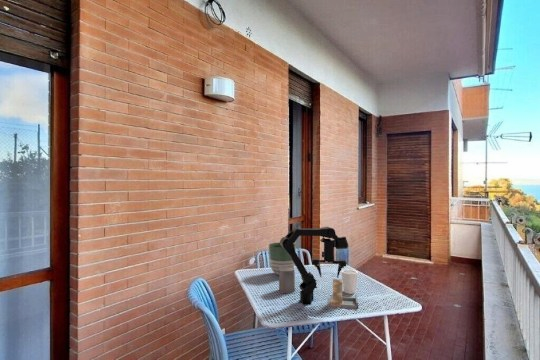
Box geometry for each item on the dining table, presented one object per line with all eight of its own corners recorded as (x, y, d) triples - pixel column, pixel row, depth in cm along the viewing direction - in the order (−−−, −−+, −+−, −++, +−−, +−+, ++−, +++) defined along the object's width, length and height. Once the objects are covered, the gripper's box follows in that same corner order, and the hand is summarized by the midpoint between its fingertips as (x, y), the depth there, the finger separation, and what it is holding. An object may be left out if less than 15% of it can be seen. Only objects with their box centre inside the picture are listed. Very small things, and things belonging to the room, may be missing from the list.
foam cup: (347, 289, 198) (347, 268, 198) (360, 293, 191) (360, 271, 192) (338, 293, 191) (338, 271, 192) (352, 297, 185) (352, 274, 185)
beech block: (332, 304, 172) (332, 281, 172) (333, 300, 176) (332, 279, 177) (342, 304, 170) (342, 282, 171) (342, 301, 175) (342, 279, 176)
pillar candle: (284, 287, 204) (284, 263, 204) (297, 290, 198) (297, 265, 198) (276, 291, 196) (275, 267, 196) (289, 294, 190) (289, 269, 190)
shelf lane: (327, 308, 169) (326, 300, 169) (327, 300, 180) (327, 293, 181) (358, 310, 165) (358, 302, 165) (357, 302, 177) (357, 294, 177)
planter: (270, 270, 243) (270, 242, 243) (296, 271, 240) (296, 242, 241) (267, 277, 224) (266, 247, 224) (294, 278, 221) (294, 247, 221)
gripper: (345, 247, 186) (345, 274, 186) (313, 246, 190) (313, 272, 190) (346, 251, 175) (346, 280, 175) (311, 250, 179) (312, 278, 179)
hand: (329, 277), depth 180 cm, fingers open, 9 cm apart
